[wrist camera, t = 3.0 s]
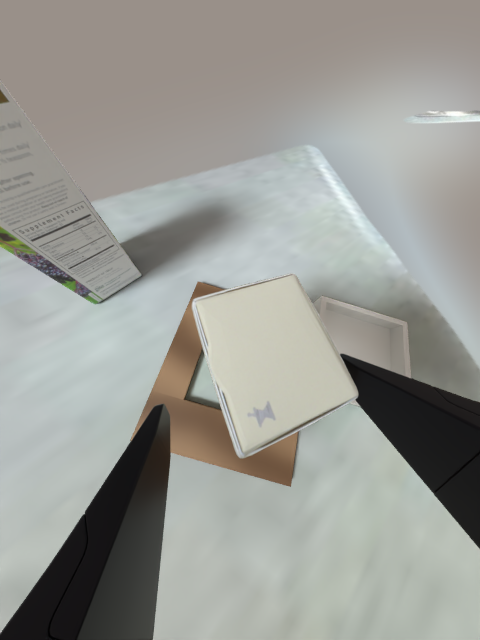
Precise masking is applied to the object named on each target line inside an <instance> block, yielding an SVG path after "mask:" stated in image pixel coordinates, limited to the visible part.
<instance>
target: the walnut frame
mask: <svg viewBox="0 0 480 640" xmlns="http://www.w3.org/2000/svg"><path fill="white" fill-rule="evenodd" d="M222 290H224V289H221V288H217V287H214V286H211V285H208V284H204V283H201V282H198V283H197V285H196V287H195V290H194V292H193V294H192V297H191V299H190V302H189V304H188V306H187V309H186V311H185V313H184V316H183V318H182V320H181V323H180V325H179V327H178V330H177V332H176V334H175V337H174V339H173V341H172V344H171V346H170V349H169V351H168V353H167V356H166V358H165V360H164V363H163V365H162V367H161V370H160V372H159V374H158V377H157V379H156V381H155V384H154V386H153V388H152V391H151V393H150V396H149V398H148V400H147V403H146V405H145V407H144V410H143V412H142V414H141V417H140V419H139V421H138V424H137V426H136V428H135V431H134V433H133V435H132V438H131V440H130V441H132V439H133V437H134V436H135V434H136V433H137V431H138V430H139V428H140V427H141V425H142V424H143V422H144V421H145V419H146V418H147V416H148V415H149V413H150V411H151V410H152V408H153V407H154V406H156V405H159V404H165V406H166V408H167V410H168V412H169V414H170V448H171V451H170V452H171V453H174V454H178V455H181V456H185V457H188V458H192V459H195V460H199V461H202V462H206V463H209V464H213V465H216V466H220V467H223V468H227V469H230V470H234V471H237V472H241V473H244V474H248V475H251V476H255V477H258V478H262V479H265V480H269V481H272V482H276V483H279V484H283V485H286V486H290V487H291V481H292V473H293V466H294V459H295V451H296V444H297V436H298V432H296V433H294V434H292V435H290V436H288V437H286V438H284V439H282V440H280V441H278V442H276V443H274V444H272V445H270V446H268V447H266V448H265V449H263V450H261V451H259V452H257V453H255V454H253V455H251V456H248V457H246V458H239V457H238V456H237V455H236V452H235V449H234V446H233V443H232V440H231V437H230V434H229V431H228V428H227V425H226V422H225V418H224V415H223V412H222V410H220V409H217V408H213V407H210V406H207V405H203V404H200V403H196V402H193V401H190V400H186V399H185V397H186V394H187V391H188V388H189V385H190V383H191V380H192V377H193V374H194V371H195V369H196V366H197V363H198V360H199V357H200V355H201V352H202V349H203V348H202V344H201V340H200V337H199V333H198V330H197V326H196V322H195V318H194V315H193V311H192V301H193V299H195V298H197V297H201V296H205V295H208V294H212V293H215V292H219V291H222Z"/></svg>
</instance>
